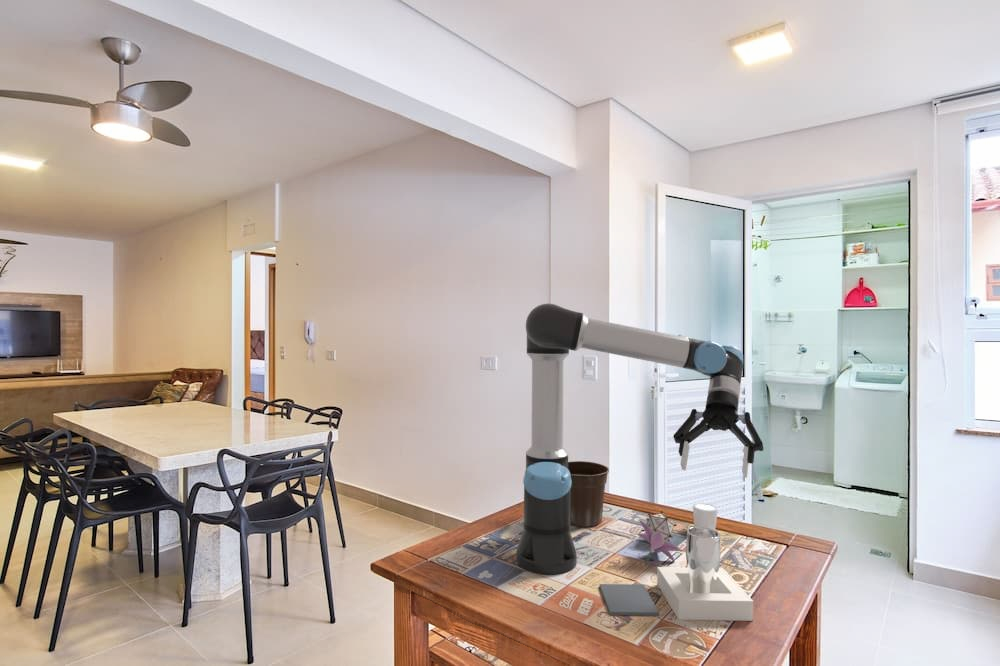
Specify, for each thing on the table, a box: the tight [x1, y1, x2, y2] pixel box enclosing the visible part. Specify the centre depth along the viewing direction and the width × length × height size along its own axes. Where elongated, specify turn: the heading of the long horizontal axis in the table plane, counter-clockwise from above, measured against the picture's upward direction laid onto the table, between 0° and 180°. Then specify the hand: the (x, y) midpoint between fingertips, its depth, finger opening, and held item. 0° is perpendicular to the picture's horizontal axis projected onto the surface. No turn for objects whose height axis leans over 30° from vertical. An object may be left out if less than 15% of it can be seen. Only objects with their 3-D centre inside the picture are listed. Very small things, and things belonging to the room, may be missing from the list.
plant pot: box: [568, 460, 610, 528], centre depth 165 cm, size 16×16×16 cm
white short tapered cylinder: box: [692, 503, 719, 531], centre depth 158 cm, size 7×7×7 cm
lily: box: [636, 519, 683, 566], centre depth 136 cm, size 12×12×10 cm
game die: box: [640, 510, 678, 542], centre depth 149 cm, size 9×8×10 cm
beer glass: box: [685, 526, 721, 593], centre depth 117 cm, size 7×7×15 cm
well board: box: [656, 566, 755, 622], centre depth 117 cm, size 15×15×4 cm
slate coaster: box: [599, 583, 660, 616], centre depth 117 cm, size 10×12×1 cm
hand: (712, 470), depth 126 cm, fingers open, 13 cm apart
